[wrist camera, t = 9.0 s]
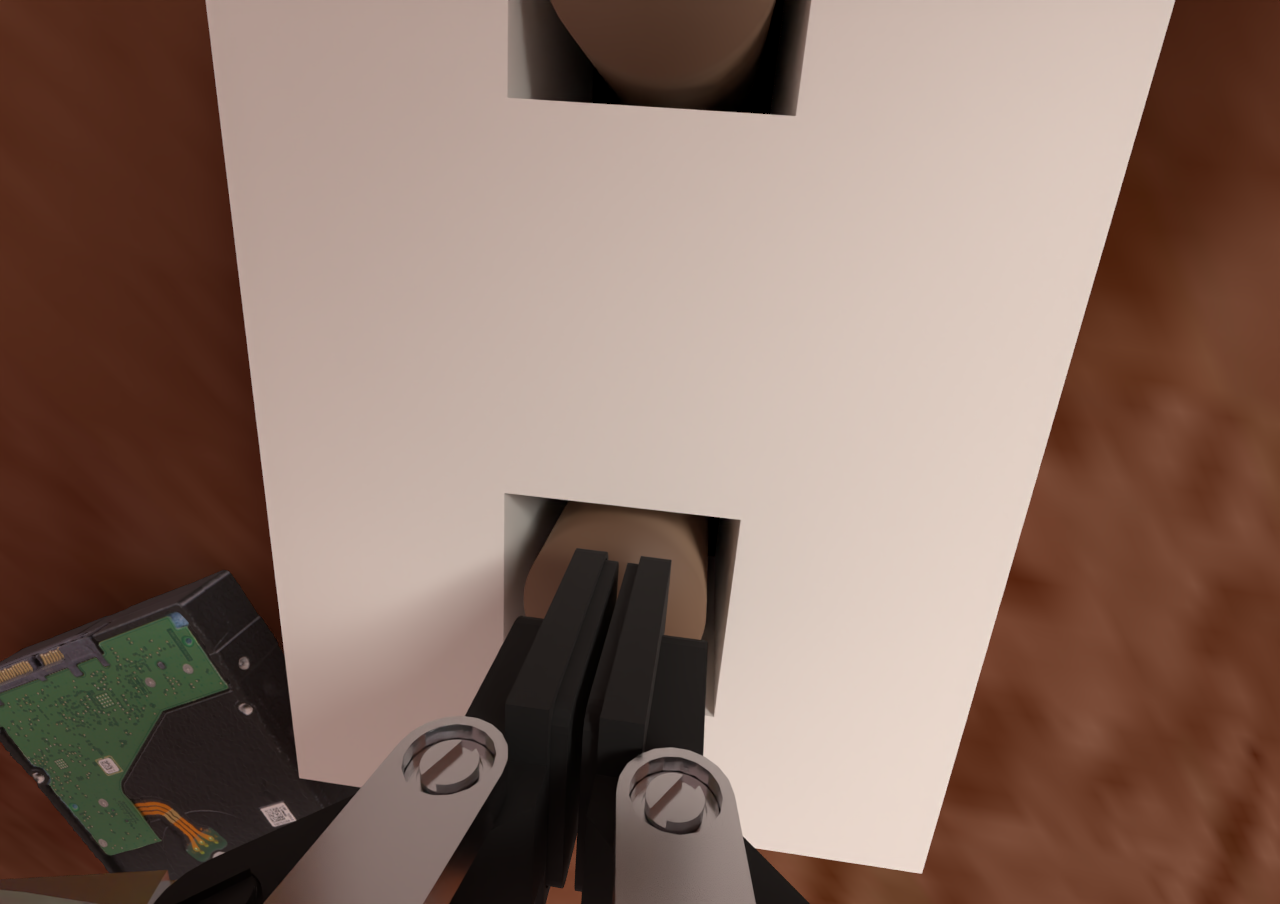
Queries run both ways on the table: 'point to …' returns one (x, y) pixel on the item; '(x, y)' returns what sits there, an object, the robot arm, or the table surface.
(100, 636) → the disk drive
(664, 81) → the dowel
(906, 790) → the collar block
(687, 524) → the dowel
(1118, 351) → the table surface
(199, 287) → the table surface
